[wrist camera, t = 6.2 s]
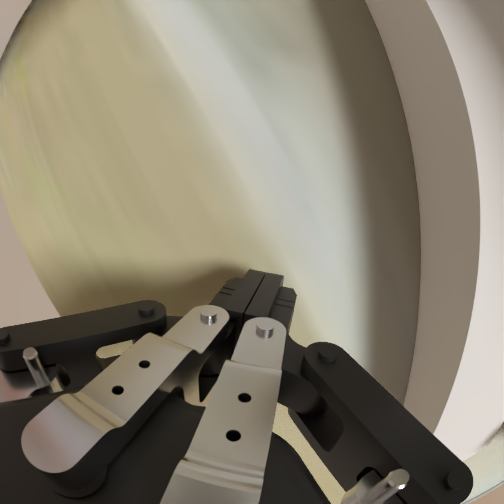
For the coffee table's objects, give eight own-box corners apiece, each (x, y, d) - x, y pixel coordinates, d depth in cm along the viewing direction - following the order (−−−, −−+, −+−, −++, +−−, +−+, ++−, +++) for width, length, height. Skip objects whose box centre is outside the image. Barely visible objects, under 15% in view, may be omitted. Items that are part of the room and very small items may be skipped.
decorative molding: (473, 20, 8) (351, -13, 8) (514, 0, 3) (384, -62, 3) (468, 415, 17) (384, 455, 17) (488, 444, 12) (399, 493, 13)
